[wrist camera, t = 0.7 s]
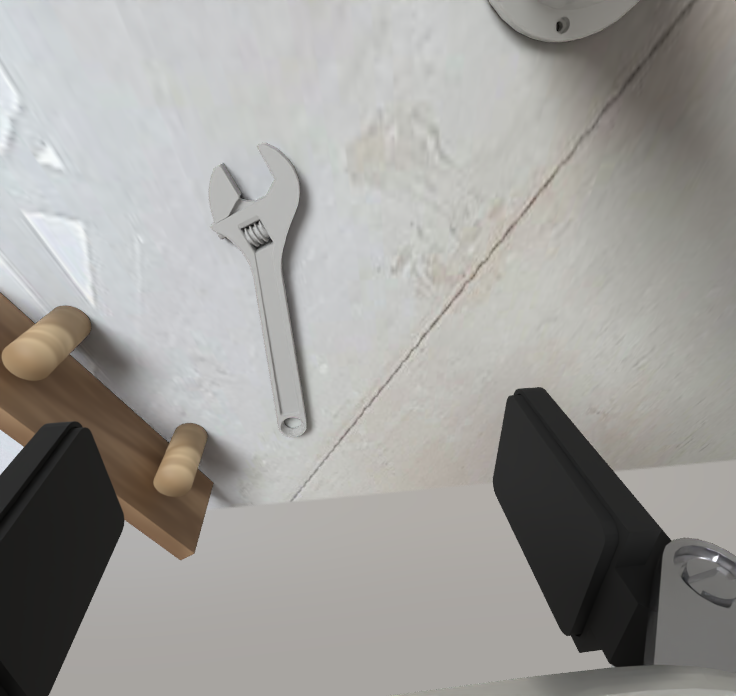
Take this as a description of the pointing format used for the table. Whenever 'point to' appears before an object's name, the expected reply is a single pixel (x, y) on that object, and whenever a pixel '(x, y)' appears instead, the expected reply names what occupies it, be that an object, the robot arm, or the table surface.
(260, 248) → the adjustable wrench
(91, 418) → the tool rack
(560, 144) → the table surface
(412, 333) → the table surface
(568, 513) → the robot arm
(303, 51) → the table surface
